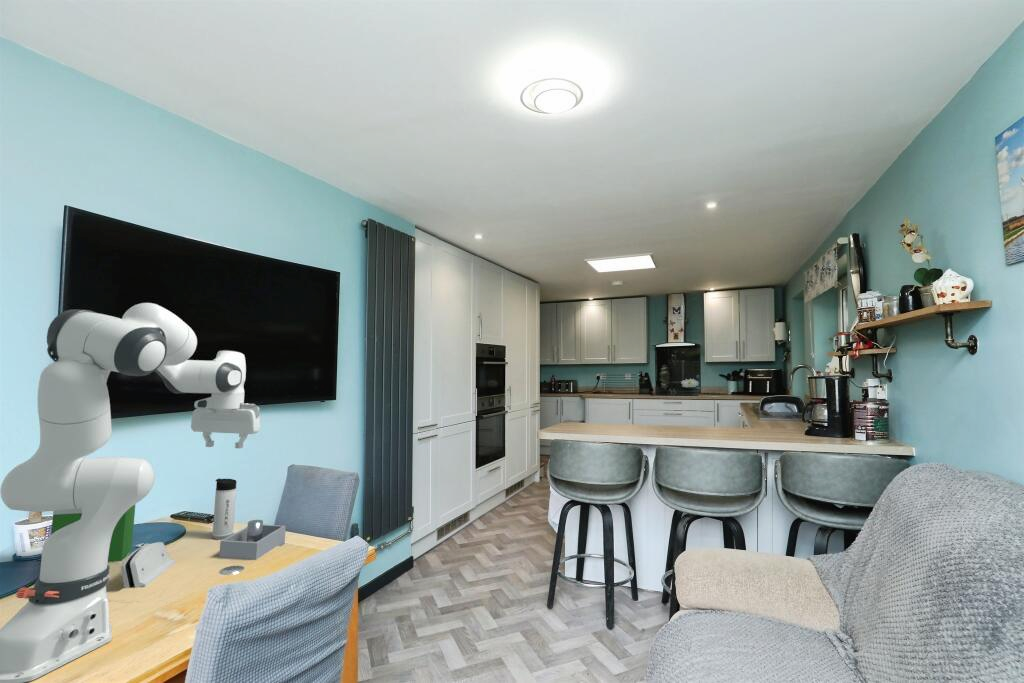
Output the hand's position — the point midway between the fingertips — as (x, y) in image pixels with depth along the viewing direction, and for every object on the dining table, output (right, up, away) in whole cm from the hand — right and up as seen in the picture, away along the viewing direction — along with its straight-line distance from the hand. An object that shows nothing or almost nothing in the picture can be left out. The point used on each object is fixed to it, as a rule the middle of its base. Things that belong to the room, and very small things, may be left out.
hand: (224, 447), depth 148 cm
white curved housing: (-14, -34, -14) cm, 39 cm away
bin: (+5, -36, +8) cm, 37 cm away
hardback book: (-39, -34, -2) cm, 52 cm away
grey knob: (+5, -35, +8) cm, 36 cm away
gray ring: (+7, -35, -9) cm, 37 cm away
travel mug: (-13, -36, +20) cm, 44 cm away
